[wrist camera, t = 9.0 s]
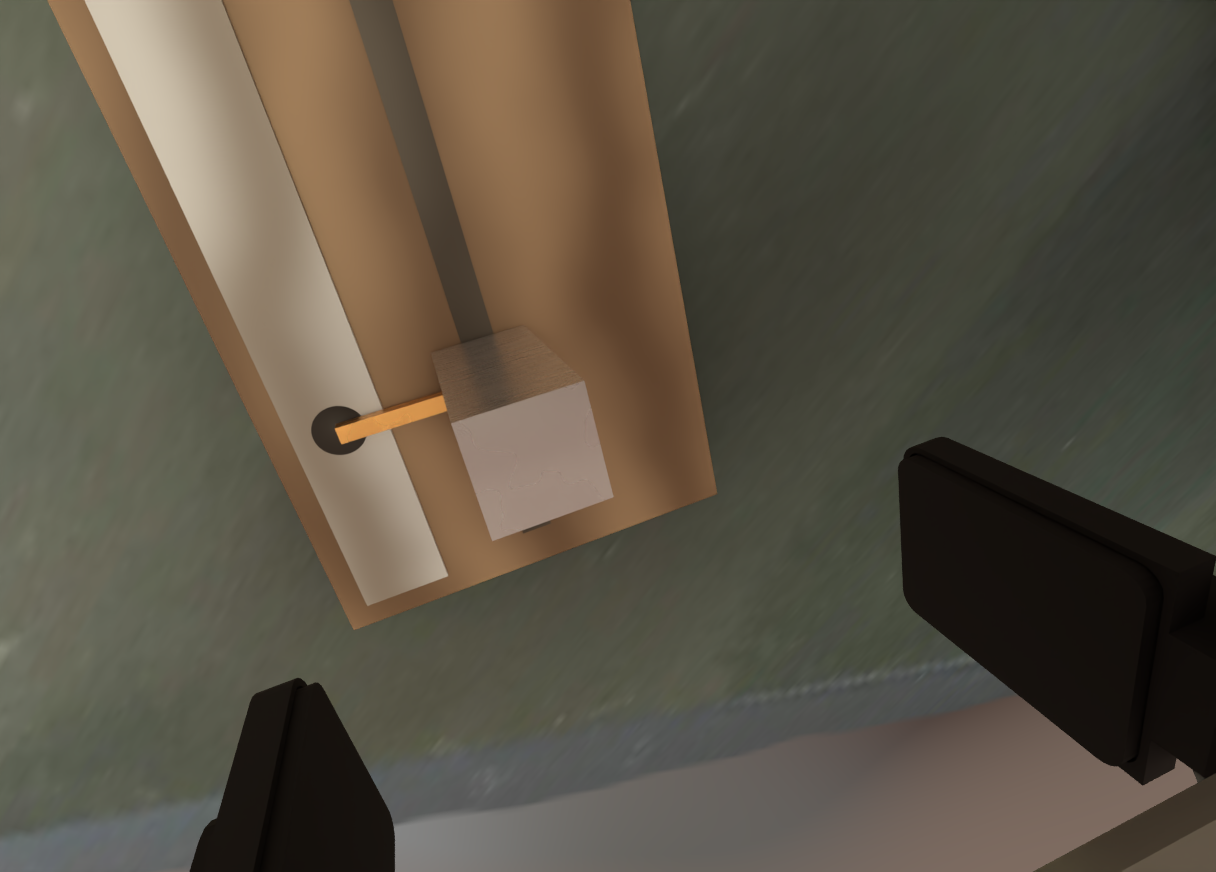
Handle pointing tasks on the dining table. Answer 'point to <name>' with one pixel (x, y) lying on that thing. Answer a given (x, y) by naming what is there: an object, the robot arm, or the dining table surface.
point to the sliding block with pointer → (510, 428)
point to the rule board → (410, 248)
